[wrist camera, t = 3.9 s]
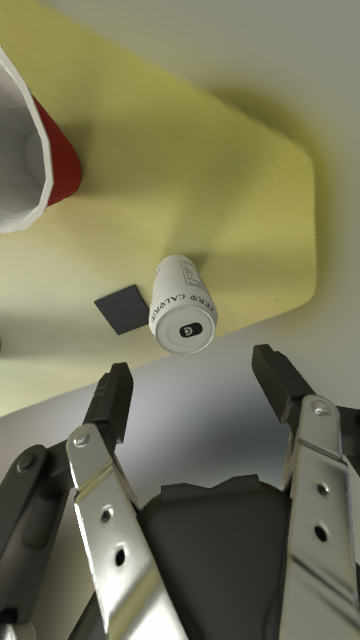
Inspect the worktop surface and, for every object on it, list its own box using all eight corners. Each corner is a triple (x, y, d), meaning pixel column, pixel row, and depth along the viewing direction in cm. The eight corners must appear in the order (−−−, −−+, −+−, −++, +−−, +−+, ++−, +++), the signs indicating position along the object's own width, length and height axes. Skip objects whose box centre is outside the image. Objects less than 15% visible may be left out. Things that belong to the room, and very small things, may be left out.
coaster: (118, 334, 32) (118, 335, 32) (94, 301, 29) (93, 302, 28) (154, 320, 31) (154, 321, 31) (134, 284, 28) (133, 285, 27)
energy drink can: (149, 261, 26) (133, 313, 13) (189, 247, 25) (213, 286, 13) (164, 297, 29) (163, 368, 16) (200, 285, 28) (229, 349, 16)
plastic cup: (-4, 193, 21) (-166, 181, 11) (-5, 61, 16) (-299, -192, 6) (93, 239, 24) (39, 262, 14) (117, 139, 19) (62, 61, 9)
